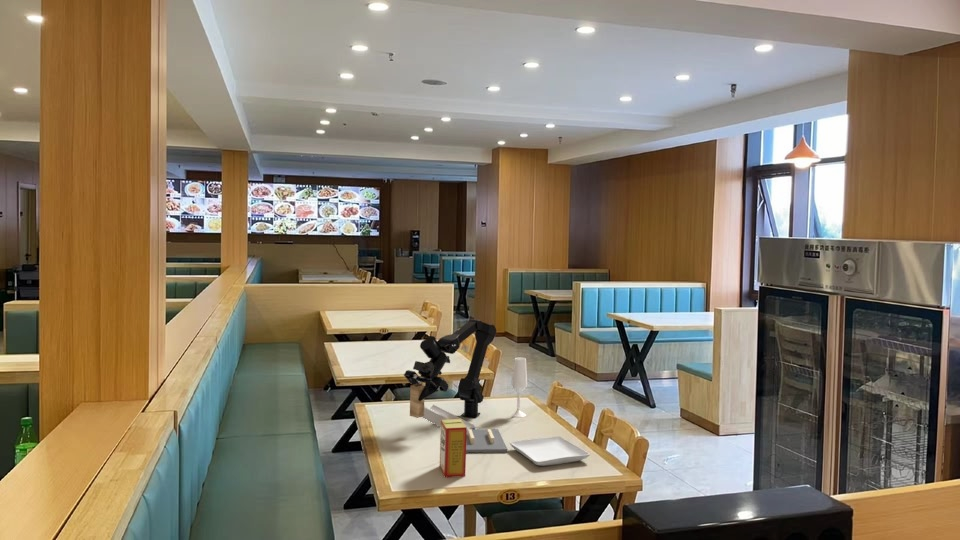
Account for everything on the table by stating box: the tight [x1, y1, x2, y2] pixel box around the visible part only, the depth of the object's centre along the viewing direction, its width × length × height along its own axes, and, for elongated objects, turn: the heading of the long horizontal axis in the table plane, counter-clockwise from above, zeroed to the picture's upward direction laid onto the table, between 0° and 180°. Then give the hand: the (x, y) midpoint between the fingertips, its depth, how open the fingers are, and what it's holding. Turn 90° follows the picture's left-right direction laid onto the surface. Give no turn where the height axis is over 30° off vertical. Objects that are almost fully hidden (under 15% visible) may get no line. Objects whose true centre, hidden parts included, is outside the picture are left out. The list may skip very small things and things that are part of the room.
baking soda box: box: [439, 418, 467, 478], centre depth 206 cm, size 10×6×16 cm
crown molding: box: [422, 404, 477, 429], centre depth 260 cm, size 31×12×4 cm, turn 34°
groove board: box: [466, 428, 508, 454], centre depth 235 cm, size 22×16×3 cm
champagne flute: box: [509, 356, 528, 418], centre depth 270 cm, size 7×7×24 cm
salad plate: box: [509, 435, 591, 467], centre depth 224 cm, size 21×21×3 cm
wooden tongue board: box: [409, 382, 425, 419], centre depth 241 cm, size 4×4×12 cm
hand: (414, 399), depth 240 cm, fingers closed on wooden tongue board, 4 cm apart
